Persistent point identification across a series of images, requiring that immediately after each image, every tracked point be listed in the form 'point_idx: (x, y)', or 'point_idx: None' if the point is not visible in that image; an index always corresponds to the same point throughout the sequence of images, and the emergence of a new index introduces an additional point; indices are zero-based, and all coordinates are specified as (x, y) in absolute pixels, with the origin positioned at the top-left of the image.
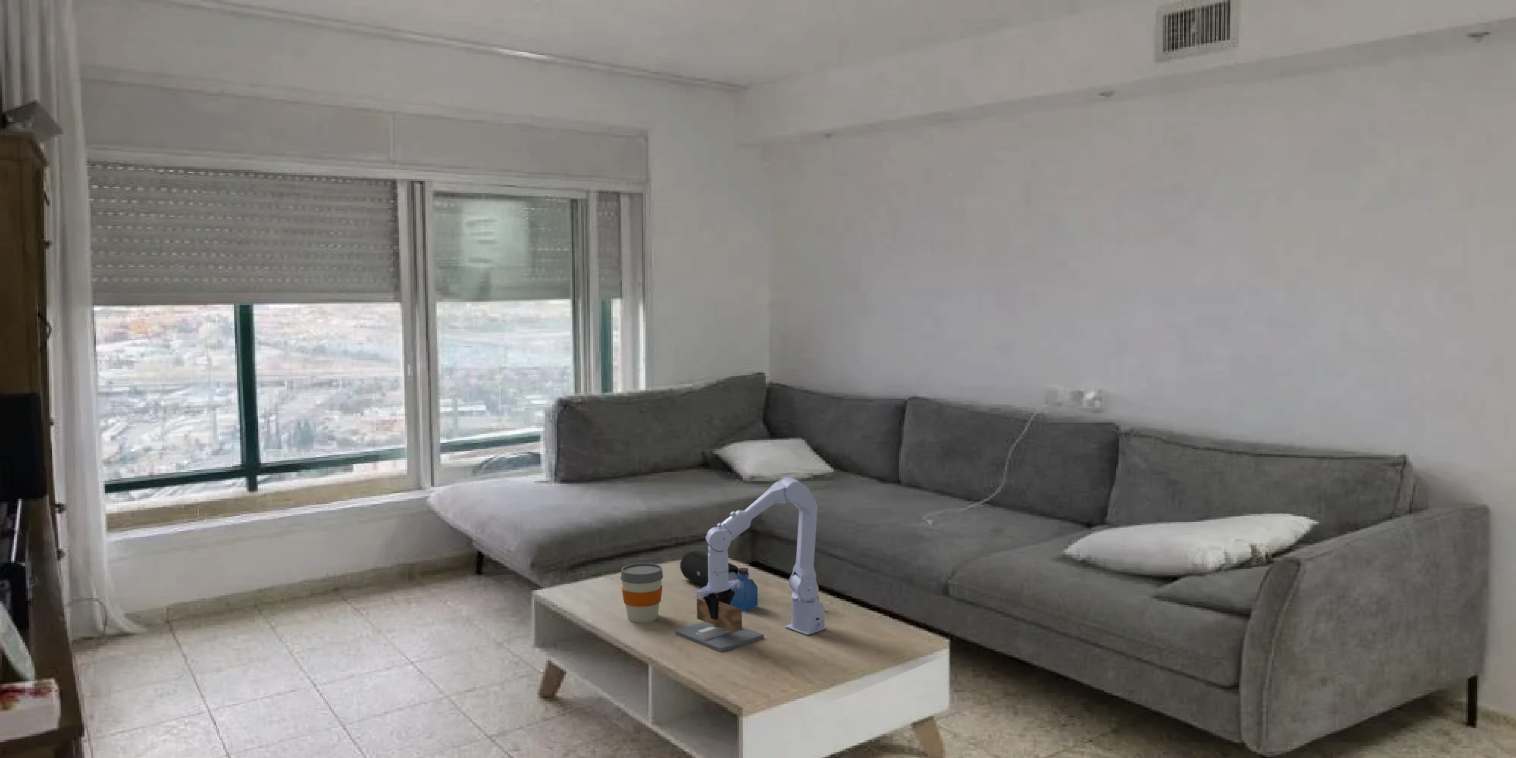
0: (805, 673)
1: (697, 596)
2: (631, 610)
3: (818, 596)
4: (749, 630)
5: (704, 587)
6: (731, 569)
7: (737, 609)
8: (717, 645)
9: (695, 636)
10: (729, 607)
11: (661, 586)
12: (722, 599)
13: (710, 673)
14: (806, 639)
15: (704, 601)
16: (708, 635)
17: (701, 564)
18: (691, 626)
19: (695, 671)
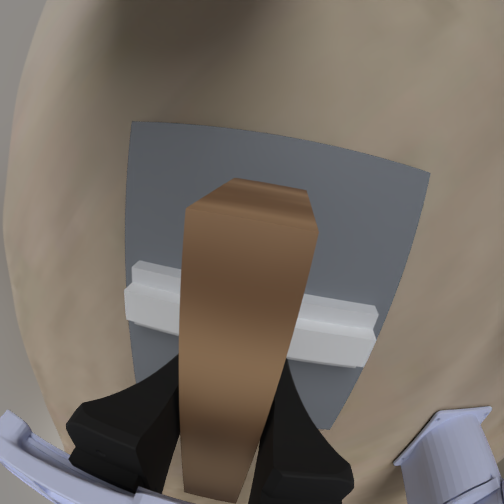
0: (200, 499)
1: (8, 419)
2: None
3: None
4: (343, 387)
5: (49, 487)
6: None
7: (217, 496)
8: (144, 373)
9: (138, 261)
10: (210, 478)
11: None
12: (263, 453)
13: (64, 400)
14: (367, 469)
15: (180, 330)
16: (154, 329)
17: None
18: (229, 141)
19: (44, 373)
